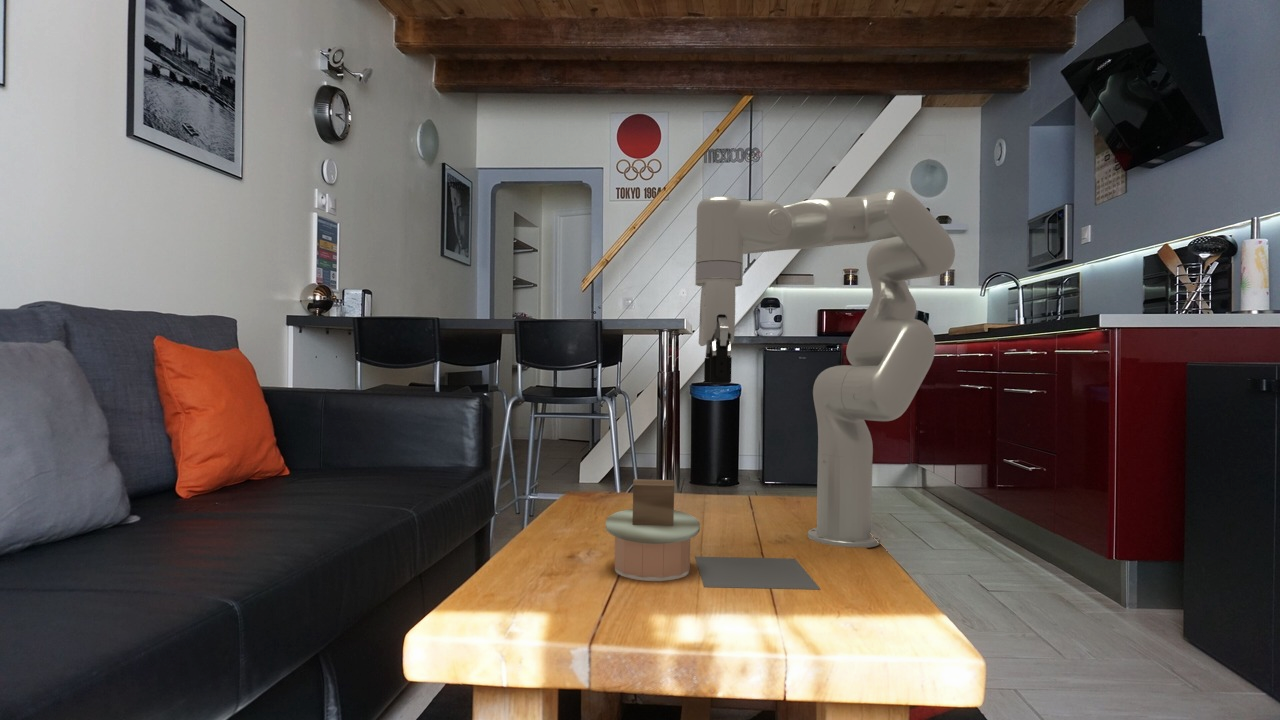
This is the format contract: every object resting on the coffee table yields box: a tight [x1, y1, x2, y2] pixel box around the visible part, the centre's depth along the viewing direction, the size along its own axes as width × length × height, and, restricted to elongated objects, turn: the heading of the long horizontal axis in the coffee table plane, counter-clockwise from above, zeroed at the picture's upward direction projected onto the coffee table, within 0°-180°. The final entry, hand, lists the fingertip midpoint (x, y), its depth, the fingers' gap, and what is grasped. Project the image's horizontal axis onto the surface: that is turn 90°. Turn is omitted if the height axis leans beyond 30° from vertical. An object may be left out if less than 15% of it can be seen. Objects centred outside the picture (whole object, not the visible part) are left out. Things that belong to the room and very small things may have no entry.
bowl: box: [614, 536, 691, 582], centre depth 105 cm, size 11×11×6 cm
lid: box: [605, 478, 701, 544], centre depth 105 cm, size 14×14×7 cm
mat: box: [694, 556, 822, 591], centre depth 105 cm, size 16×16×1 cm
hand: (717, 382), depth 114 cm, fingers open, 9 cm apart
